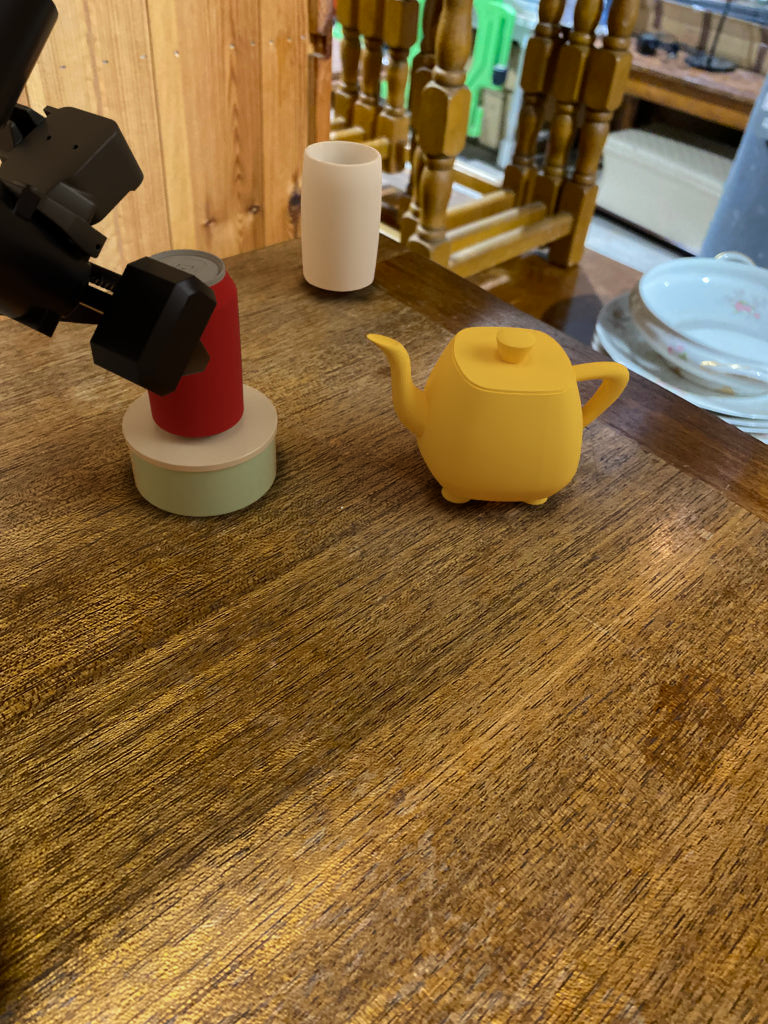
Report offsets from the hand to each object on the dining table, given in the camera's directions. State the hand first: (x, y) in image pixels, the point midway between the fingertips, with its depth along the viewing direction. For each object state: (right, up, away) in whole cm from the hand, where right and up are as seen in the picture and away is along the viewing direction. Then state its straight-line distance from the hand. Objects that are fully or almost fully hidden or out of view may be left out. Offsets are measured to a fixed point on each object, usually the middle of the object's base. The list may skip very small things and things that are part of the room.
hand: (152, 339), depth 51 cm
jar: (+1, -8, +11) cm, 14 cm away
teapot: (+23, -8, +14) cm, 28 cm away
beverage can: (+1, -4, +8) cm, 9 cm away
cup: (+10, +14, +37) cm, 41 cm away
